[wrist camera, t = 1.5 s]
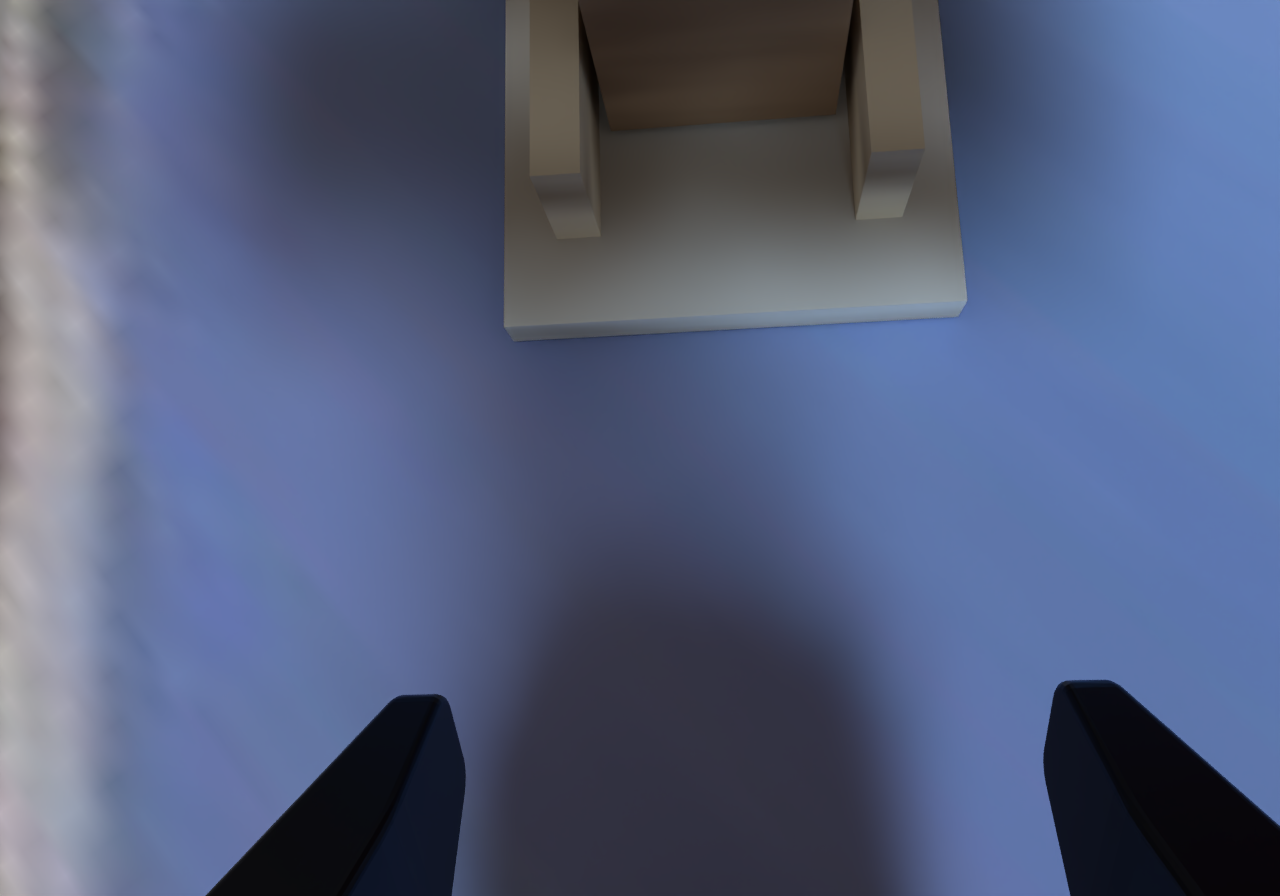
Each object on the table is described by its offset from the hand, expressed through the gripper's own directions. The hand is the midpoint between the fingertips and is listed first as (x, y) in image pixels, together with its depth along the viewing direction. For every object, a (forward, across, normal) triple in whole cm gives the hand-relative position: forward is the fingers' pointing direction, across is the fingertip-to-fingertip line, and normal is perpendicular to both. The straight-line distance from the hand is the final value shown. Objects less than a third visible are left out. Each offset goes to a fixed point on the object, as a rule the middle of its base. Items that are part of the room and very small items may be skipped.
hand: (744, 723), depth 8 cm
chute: (+22, 0, -2) cm, 22 cm away
